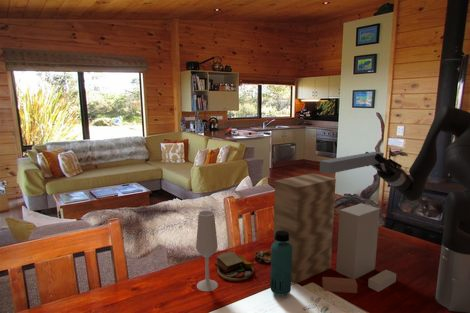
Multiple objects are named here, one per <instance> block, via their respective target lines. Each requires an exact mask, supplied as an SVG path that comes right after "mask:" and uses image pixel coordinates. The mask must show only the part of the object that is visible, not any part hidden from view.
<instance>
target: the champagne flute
mask: <svg viewBox="0 0 470 313" xmlns="http://www.w3.org/2000/svg"><path fill="white" fill-rule="evenodd" d="M197 216H198V217H197V218H198V219H197V229H196V230H197V231H196V241H195V249H196V251H197V252H198V254H199V255H200V256H201V257H204V264H205V265H204V266H205V267H204V271H205V278H204V279H203V280H200V281H199V282H197V284H196V287H197V289H198V290H199V291H202V292H211V291H214V290H216V289H217V288H218V287H219V283H218V282H217V281H216V280H213V279H210V257H212V256H213V255H214V254H215V253H216V252H217V250H218V238H217V237H218V236H217V229H216V228H217V227H216V219H215V218H216V217H215V216H216V215H215V212H214V211H212V210H202V211H201V210H200V211H199V212H198V215H197Z"/></svg>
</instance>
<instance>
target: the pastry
mask: <svg viewBox="0 0 470 313" xmlns="http://www.w3.org/2000/svg"><path fill="white" fill-rule="evenodd" d="M253 257H254V258H255V259H256V261H254V262H253V263H254V264H259V265H260V264H261V263H262V261H263V262H265V263H267V264H268V263H271V249H267V250H265V251H264V250H263V249H261V250H260V251H256V252H255V253H254V256H253Z"/></svg>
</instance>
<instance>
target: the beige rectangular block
mask: <svg viewBox="0 0 470 313" xmlns="http://www.w3.org/2000/svg"><path fill="white" fill-rule="evenodd" d="M396 282H397V273H396V272H393V271H390V270H388V269H384V270H383V271H380V272H378V273H377V274H375V275H373V276H371V277H369V278H368V282H367V287H368V288H369V289H371V290H374V291H376V292H378V293H379V292H380V291H383V290H384V289H386V288H388V287H389V286H390V285H393V284H394V283H396Z"/></svg>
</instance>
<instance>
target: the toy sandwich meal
mask: <svg viewBox="0 0 470 313" xmlns="http://www.w3.org/2000/svg"><path fill="white" fill-rule="evenodd" d="M253 263H254V262H250V261H248V260H247V259H246V258H245V257H244V256H243V255H242V254H239V255H237V254H236V253H235V252H234V251H227V252H223V253H221V254H219V255H217V256H216V261H215V262H214V266H215V267H217V268H216V271H217V274H218V275H219V276H220V277H221V278H222V279H225V280H227V281H231V282H233V281H234V282H241V281H245V280H247V279H249V278H250V277H252V275H253V274H254V272H255V270H254V269H255V268H254V267H253V266H254V264H253Z"/></svg>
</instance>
